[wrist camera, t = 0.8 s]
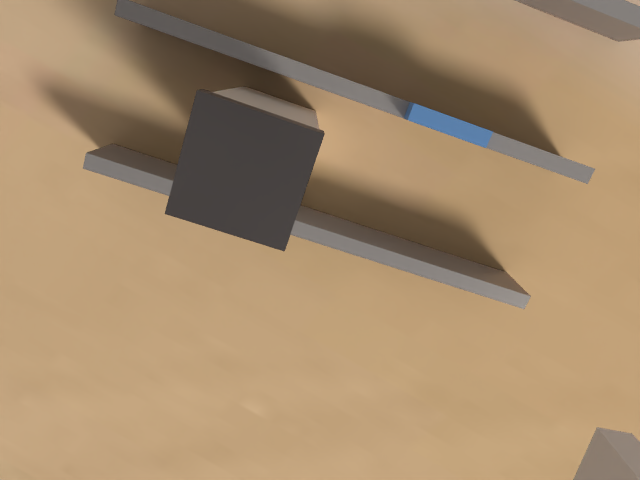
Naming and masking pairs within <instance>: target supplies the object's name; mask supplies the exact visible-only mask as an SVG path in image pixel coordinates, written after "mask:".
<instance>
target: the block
mask: <svg viewBox="0 0 640 480" xmlns="http://www.w3.org/2000/svg"><path fill="white" fill-rule="evenodd" d="M323 137H324V131H322V130H320V129H319V126H318V121H317V116H316V111H314V110H311V109H308V108H306V107H303V106H300V105H297V104H294V103H291V102H288V101H286V100H283V99H280V98H277V97H274V96H271V95H269V94H266V93H263V92H260V91H257V90H254V89H251V88H249V87H246V86H243V87H237V88H232V89H226V90H220V91H215V92H210V91H207V90H204V89H201V90H197V92H196V96H195V99H194V103H193V107H192V111H191V115H190V119H189V122H188V126H187V130H186V134H185V138H184V142H183V146H182V149H181V153H180V157H179V161H178V165H177V169H176V172H175V176H174V180H173V184H172V188H171V192H170V196H169V199H168V203H167V207H166V211H165V214H167V215H170V216H174V217H177V218H180V219H183V220H186V221H189V222H193V223H196V224H199V225H202V226H205V227H209V228H212V229H215V230H218V231H221V232H224V233H228V234H231V235H234V236H237V237H240V238H244V239H247V240H250V241H253V242H256V243H259V244H263V245H266V246H269V247H272V248H275V249H279V250H282V251H285V249H286V246H287V243H288V240H289V237H290V234H291V231H292V228H293V225H294V222H295V219H296V216H297V213H298V210H299V207H300V205H301V202H302V199H303V196H304V193H305V190H306V187H307V184H308V181H309V178H310V175H311V172H312V169H313V166H314V163H315V160H316V157H317V155H318V152H319V149H320V146H321V143H322V140H323Z"/></svg>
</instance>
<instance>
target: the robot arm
mask: <svg viewBox="0 0 640 480" xmlns="http://www.w3.org/2000/svg"><path fill="white" fill-rule="evenodd" d="M573 480H640V442H639V441H638V440H637V438H636V437H635V436H634V435H633V434H632V433H626V432H621V431H615V430H609V429H604V428H598V427H597V428H596V430H595V433H594V435H593V437H592V439H591V442H590V444H589V446H588V448H587V450H586V453H585V455H584V457H583V459H582V461H581V464H580V466H579V468H578V470H577V473H576V475H575V477H574V479H573Z"/></svg>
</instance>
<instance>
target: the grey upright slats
mask: <svg viewBox="0 0 640 480" xmlns="http://www.w3.org/2000/svg"><path fill="white" fill-rule="evenodd" d="M515 1H518V2H520V3H523V4H525V5H528V6H530V7H533V8H535V9H538V10H540V11H543V12H545V13H548V14H550V15H553V16H555V17H558V18H561V19H563V20H566V21H568V22H571V23H573V24H576V25H578V26H581V27H583V28H586V29H588V30H591V31H593V32H596V33H598V34H601V35H603V36H606V37H608V38H611V39H613V40H616V41H618V42H619V41H628V40H638V39H640V6H637V5H635V4H632V3H630V2H627V1H625V0H515ZM115 15H116V16H118V17H121V18H124V19H127V20H130V21H132V22H135V23H138V24H141V25H144V26H146V27H149V28H152V29H155V30H158V31H161V32H163V33H166V34H169V35H172V36H175V37H177V38H180V39H183V40H186V41H189V42H191V43H194V44H197V45H200V46H203V47H205V48H208V49H211V50H214V51H217V52H219V53H222V54H225V55H228V56H231V57H233V58H236V59H239V60H242V61H245V62H247V63H250V64H253V65H256V66H259V67H261V68H264V69H267V70H270V71H273V72H275V73H278V74H281V75H284V76H287V77H289V78H292V79H295V80H298V81H301V82H303V83H306V84H309V85H312V86H315V87H317V88H320V89H323V90H326V91H329V92H331V93H334V94H337V95H340V96H343V97H345V98H348V99H351V100H354V101H357V102H359V103H362V104H365V105H368V106H371V107H373V108H376V109H379V110H382V111H385V112H387V113H390V114H393V115H396V116H399V117H401V118H404V119H406V120H409V121H412V122H414V123H417V124H420V125H423V126H426V127H428V128H431V129H434V130H437V131H440V132H442V133H445V134H448V135H451V136H454V137H456V138H459V139H462V140H465V141H468V142H470V143H473V144H476V145H479V146H482V147H484V148H488V149H491V150H494V151H497V152H500V153H502V154H505V155H508V156H511V157H514V158H516V159H519V160H522V161H525V162H528V163H530V164H533V165H536V166H539V167H542V168H544V169H547V170H550V171H553V172H556V173H558V174H561V175H564V176H567V177H570V178H572V179H575V180H578V181H581V182H584V183H586V184H588V182H589V180H590V178H591V176H592V174H593V172H594V170H595V169H594V168H591V167H588V166H586V165H583V164H580V163H577V162H575V161H572V160H569V159H566V158H563V157H561V156H558V155H555V154H552V153H550V152H547V151H544V150H541V149H539V148H536V147H533V146H530V145H527V144H525V143H522V142H519V141H516V140H514V139H511V138H508V137H505V136H503V135H500V134H497V133H494V132H493V131H490V130H487V129H484V128H481V127H479V126H476V125H473V124H470V123H468V122H465V121H462V120H459V119H457V118H454V117H451V116H448V115H446V114H443V113H440V112H437V111H434V110H432V109H429V108H426V107H423V106H421V105H418V104H415V103H412V102H409V101H406V100H403V99H400V98H397V97H395V96H392V95H389V94H386V93H384V92H381V91H378V90H375V89H373V88H370V87H367V86H364V85H362V84H359V83H356V82H353V81H350V80H348V79H345V78H342V77H339V76H337V75H334V74H331V73H328V72H326V71H323V70H320V69H317V68H314V67H312V66H309V65H306V64H303V63H301V62H298V61H295V60H292V59H290V58H287V57H284V56H281V55H279V54H276V53H273V52H270V51H267V50H265V49H262V48H259V47H256V46H254V45H251V44H248V43H245V42H243V41H240V40H237V39H234V38H231V37H229V36H226V35H223V34H220V33H218V32H215V31H212V30H209V29H207V28H204V27H201V26H198V25H196V24H193V23H190V22H187V21H184V20H182V19H179V18H176V17H173V16H171V15H168V14H165V13H162V12H160V11H157V10H154V9H151V8H149V7H146V6H143V5H140V4H137V3H135V2H132V1H129V0H117V5H116V10H115ZM83 169H86V170H89V171H93V172H96V173H99V174H102V175H105V176H108V177H111V178H114V179H118V180H121V181H124V182H127V183H130V184H133V185H136V186H140V187H143V188H146V189H149V190H152V191H155V192H158V193H162V194H165V195H168V196H170V192H171V188H172V184H173V180H174V176H175V172H176V169H177V165H176V164H173V163H170V162H167V161H164V160H161V159H158V158H155V157H152V156H149V155H146V154H143V153H140V152H136V151H133V150H130V149H127V148H124V147H121V146H118V145H115V144H110V145H107V146H104V147H101V148H99V149H96V150H93V151H90V152H87V153H86V156H85V161H84V166H83ZM290 235H293V236H296V237H300V238H303V239H306V240H309V241H312V242H315V243H318V244H322V245H325V246H328V247H331V248H334V249H337V250H340V251H343V252H347V253H350V254H353V255H356V256H359V257H362V258H365V259H369V260H372V261H375V262H378V263H381V264H384V265H387V266H391V267H394V268H397V269H400V270H403V271H406V272H409V273H412V274H416V275H419V276H422V277H425V278H428V279H431V280H434V281H438V282H441V283H444V284H447V285H450V286H453V287H456V288H460V289H463V290H466V291H469V292H472V293H475V294H478V295H481V296H485V297H488V298H491V299H494V300H497V301H500V302H503V303H507V304H510V305H513V306H516V307H519V308H522V309H525V307H526V305H527V303H528V301H529V299H530V297H531V296H530V295H529V294H528V293H527V292H526V291H525V290H524V289H523V288H522V287H521V286H520V285H519V284H518V283H517V282H516V281H515V280H514V279H513V278H512V277H511V276H510V275H509V274H508V273H507V272H504V271H501V270H498V269H495V268H491V267H488V266H485V265H482V264H479V263H476V262H473V261H470V260H467V259H464V258H461V257H458V256H455V255H452V254H449V253H446V252H442V251H439V250H436V249H433V248H430V247H427V246H424V245H421V244H418V243H415V242H412V241H409V240H406V239H403V238H400V237H397V236H394V235H390V234H387V233H384V232H381V231H378V230H375V229H372V228H369V227H366V226H363V225H360V224H357V223H354V222H351V221H348V220H345V219H341V218H338V217H335V216H332V215H329V214H326V213H323V212H320V211H317V210H314V209H311V208H308V207H305V206H302V205H300V207H299V210H298V213H297V216H296V219H295V222H294V225H293V228H292V231H291V234H290Z"/></svg>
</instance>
